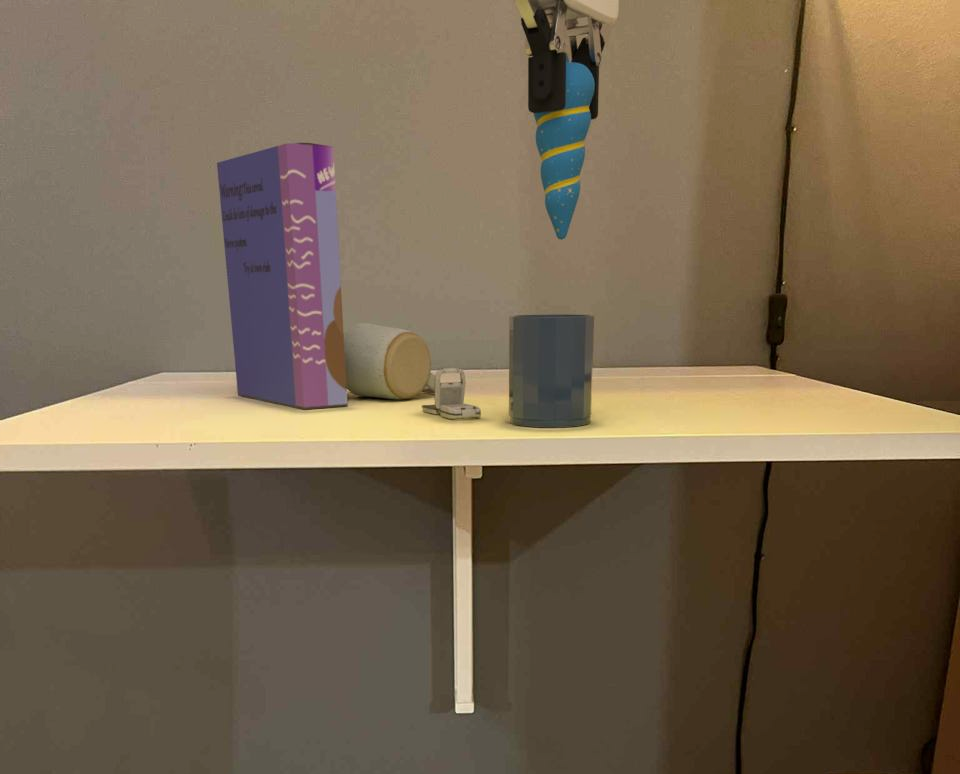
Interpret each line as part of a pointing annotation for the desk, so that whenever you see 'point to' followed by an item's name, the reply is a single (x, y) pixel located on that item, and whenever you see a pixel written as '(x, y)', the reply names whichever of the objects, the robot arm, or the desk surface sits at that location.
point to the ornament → (565, 146)
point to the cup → (550, 370)
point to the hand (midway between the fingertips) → (563, 113)
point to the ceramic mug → (386, 362)
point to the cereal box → (284, 275)
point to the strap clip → (451, 398)
